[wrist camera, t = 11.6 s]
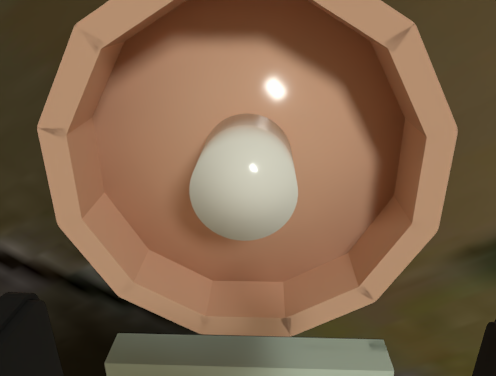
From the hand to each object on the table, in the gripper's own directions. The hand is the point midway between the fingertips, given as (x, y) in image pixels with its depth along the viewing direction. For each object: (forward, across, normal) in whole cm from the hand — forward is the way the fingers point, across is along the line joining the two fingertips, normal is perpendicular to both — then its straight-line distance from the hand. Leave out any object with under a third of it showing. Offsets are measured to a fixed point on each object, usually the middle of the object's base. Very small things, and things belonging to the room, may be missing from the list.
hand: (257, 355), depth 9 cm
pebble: (+13, +1, 0) cm, 13 cm away
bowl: (+14, +1, 0) cm, 14 cm away
